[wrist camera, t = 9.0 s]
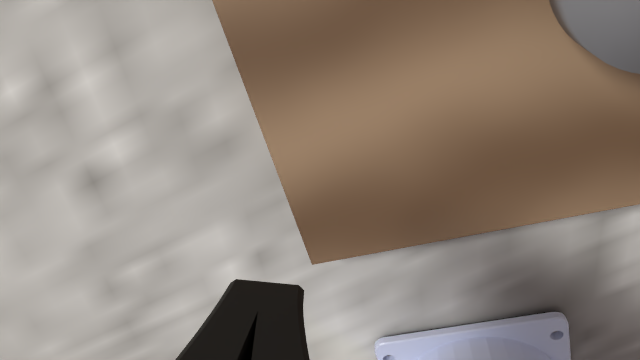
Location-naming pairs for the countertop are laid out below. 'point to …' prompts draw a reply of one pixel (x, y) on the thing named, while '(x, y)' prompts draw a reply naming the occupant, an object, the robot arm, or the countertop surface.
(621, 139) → the lock board
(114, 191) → the countertop surface
